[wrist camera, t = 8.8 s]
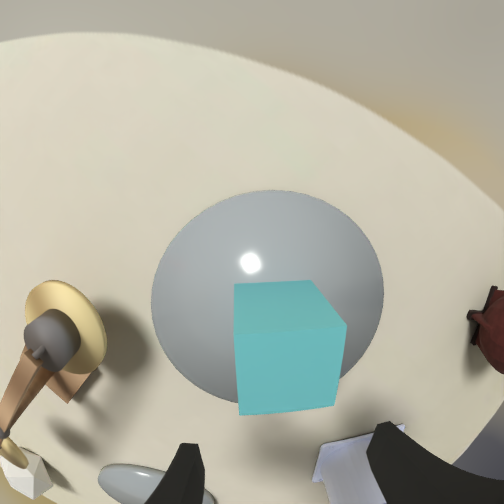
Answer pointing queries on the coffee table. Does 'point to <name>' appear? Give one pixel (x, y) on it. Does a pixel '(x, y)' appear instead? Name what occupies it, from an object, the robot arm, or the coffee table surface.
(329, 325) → the block
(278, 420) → the coffee table surface
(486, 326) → the mate gourd
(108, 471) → the grey round disc
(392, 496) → the robot arm
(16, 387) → the balance
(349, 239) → the dish low side
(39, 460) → the die
